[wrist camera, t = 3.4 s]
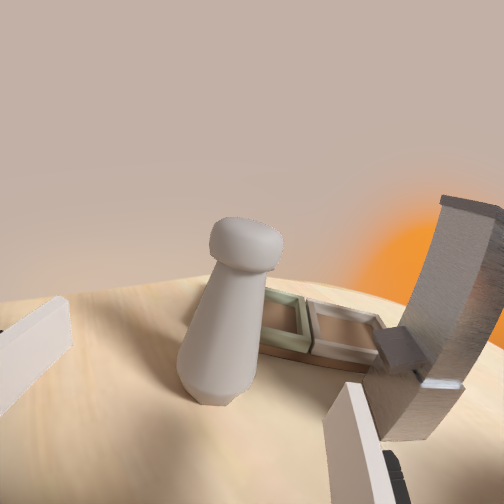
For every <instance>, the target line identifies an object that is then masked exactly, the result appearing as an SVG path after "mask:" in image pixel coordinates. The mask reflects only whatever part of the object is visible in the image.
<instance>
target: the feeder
mask: <svg viewBox="0 0 504 504" xmlns="http://www.w3.org/2000/svg"><path fill="white" fill-rule="evenodd" d="M440 204H441V205H442V208H441V212H440V215H439V219H438V223H437V226H436V229H435V232H434V236H433V239H432V242H431V245H430V248H429V251H428V253H427V256H426V259H425V262H424V265H423V268H422V270H421V273H420V275H419V278H418V280H417V283H416V285H415V288H414V290H413V293H412V295H411V297H410V300H409V303H408V304H407V307H406V309H405V311H404V313H403V315H402V318H401V320H400V322H399V324H398V326H397V327H393V328H386V329H379V330H372V338H371V339H372V341H373V343H374V345H375V347H376V349H377V351H378V354H377V356H376V358H375V359H374V361H373V363H372V365H371V367H370V369H369V370H368V372H367V374H366V376H365V377H364V379H363V381H362V382H363V385H364V388H365V391H366V394H367V397H368V400H369V404H370V407H371V410H372V413H373V416H374V420H375V423H376V426H377V429H378V433H379V436H380V440H381V441H409V440H426V439H427V438H428V436H429V435H430V434H431V433H432V432H433V431H434V430H435V428H436V427H437V426H438V425H439V424H440V422H441V421H442V420H443V419H444V417H445V416H446V415H447V414H448V412H449V411H450V410H451V408H452V407H453V406H454V404H455V403H456V402H457V400H458V399H459V398H460V396H461V395H462V393H463V392H464V391H465V388H464V386H463V385H462V383H463V381H464V380H465V378H466V376H467V375H468V373H469V372H470V370H471V369H472V367H473V365H474V364H475V362H476V360H477V359H478V357H479V355H480V353H481V352H482V350H483V348H484V346H485V344H486V343H487V341H488V339H489V337H490V335H491V333H492V331H493V329H494V327H495V325H496V323H497V321H498V318H499V317H500V314H501V312H502V310H503V308H504V209H502V208H500V207H499V206H496V205H492V204H487V203H483V202H478V201H473V200H467V199H463V198H457V197H452V196H446V195H442V196H441V200H440Z"/></svg>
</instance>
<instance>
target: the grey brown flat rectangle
mask: <svg viewBox="0 0 504 504" xmlns="http://www.w3.org/2000/svg"><path fill="white" fill-rule="evenodd" d="M379 329H386V326H385V324H384V323H383V321H382V320H381V318H380V316H379V315H377V314H372V313H368V312H364V311H360V310H355V309H351V308H347V307H343V306H339V305H334V304H330V303H326V302H322V301H318V300H314V299H310V298H307V299H306V302H305V300H304V297H302V296H298V295H294V294H290V293H286V292H283V291H279V290H275V289H271V288H267V287H265V294H264V304H263V314H262V323H261V332H260V342H259V351H258V352H260V353H264V354H268V355H272V356H276V357H281V358H285V359H290V360H294V361H299V362H304V363H309V364H314V365H319V366H325V367H330V368H336V369H342V370H348V371H354V372H360V373H367V372H368V370H369V369H370V367H371V365H372V363H373V361H374V359H375V358H376V356H377V354H378V351H377V349H376V347H375V345H374V343H373V341H372V339H371V338H372V330H379Z"/></svg>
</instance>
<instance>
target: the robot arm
mask: <svg viewBox="0 0 504 504" xmlns="http://www.w3.org/2000/svg"><path fill="white" fill-rule="evenodd" d="M72 346H73V342H72V333H71V323H70V310H69V300H68V299H65V298H63V297H61V296H59V295H57V296H55V297H54V298H52V299H51V300H49V301H48V302H46V303H45V304H43V305H42V306H40V307H38V308H37V309H35V310H34V311H32V312H31V313H29V314H28V315H27V316H25V317H24V318H22V319H21V320H19V321H18V322H16V323H15V324H13V325H12V326H11V327H9V328H8V329H6V330H5V331H3V330H0V417H1V416H2V415H3V414H4V413H5V412H6V411H7V410H8V409H9V408H10V407H11V406H12V405H13V404H14V403H15V402H16V401H17V400H18V398H19V397H20V396H21V395H22V394H23V393H24V392H25V391H26V390H27V389H28V388H29V387H30V386H31V385H32V384H33V383H34V382H35V381H36V380H37V379H38V378H39V377H40V376H41V375H42V374H43V373H44V372H45V371H46V370H47V369H48V368H50V367H51V366H52V365H53V364H54V363H55V362H56V361H57V360H58V359H59V358H60V357H61V356H62V355H63V354H64V353H65V352H66V351H67V350H68V349H69V348H71V347H72ZM322 422H323V430H324V438H325V446H326V454H327V463H328V472H329V482H330V492H331V504H411V501H410V498H409V494H408V491H407V487H406V484H405V480H403V478H404V477H403V473H402V472H401V467H400V464H399V460H398V459H397V457H396V456H395V455H394V453H393V452H392V451H391V450H382V449H381V446H380V442H379V439H378V435H377V432H376V429H375V426H374V422H373V419H372V416H371V413H370V410H369V406H368V403H367V400H366V397H365V394H364V391H363V388H362V385H361V384H360V383H352V382H345V384H344V386H343V388H342V389H341V391H340V393H339V395H338V396H337V398H336V400H335V401H334V403H333V405H332V406H331V408H330V409H329V411H328V413H327V414H326V416H325V417H324V419H323V421H322Z"/></svg>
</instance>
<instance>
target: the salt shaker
mask: <svg viewBox="0 0 504 504" xmlns="http://www.w3.org/2000/svg"><path fill="white" fill-rule="evenodd" d="M283 244H284V240H283V238H282V236H281V234H280V233H279V232H278V231H277V230H276V229H274V228H272V227H270V226H269V225H266V224H264V223H261V222H258V221H254V220H250V219H245V218H238V217H230V218H223V219H221V220H219V221H218V222H216V223H215V224H214V227H213V229H212V231H211V234H210V242H209V247H210V255H211V256H212V257H214V258H215V259H216V260H218V261H217V263H216V265H215V267H214V270H213V272H212V274H211V277H210V279H209V281H208V283H207V286H206V288H205V290H204V293H203V295H202V297H201V300H200V302H199V304H198V307H197V309H196V311H195V314H194V316H193V318H192V321H191V323H190V325H189V328H188V330H187V333H186V335H185V337H184V340H183V342H182V345H181V347H180V349H179V352H178V354H177V373H178V375H179V377H180V380H181V382H182V384H183V386H184V389H185V390H186V391H187V392H188V393H189V394H190V395H191V396H192V397H193V398H194V399H195V400H197V401H198V402H199V403H200V404H201V405H214V406H226V405H228V404H229V403H230V402H231V401H232V400H233V399H234V398H235V397H237V396H238V395H240V394H242V393H243V392H245V391H246V390H248V389H249V387H250V386H251V384H252V382H253V379H254V377H255V374H256V368H257V360H258V351H259V342H260V332H261V323H262V314H263V304H264V294H265V285H266V274H267V272H268V271H272V270H274V269H275V267H276V266H277V264H278V263H279V261H280V258H281V255H282V252H283Z"/></svg>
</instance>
